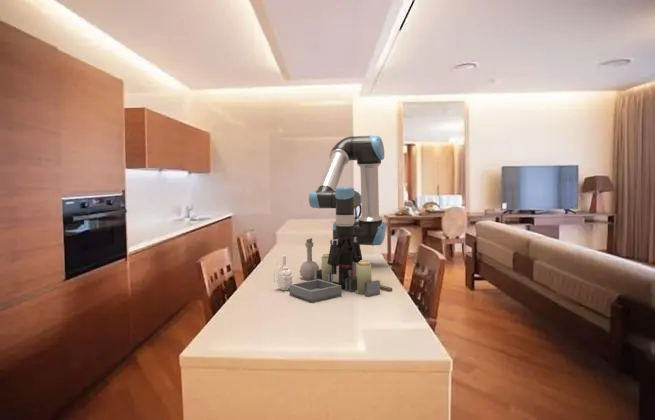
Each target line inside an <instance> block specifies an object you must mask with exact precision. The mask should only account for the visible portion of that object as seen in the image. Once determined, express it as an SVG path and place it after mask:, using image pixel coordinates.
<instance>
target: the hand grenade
mask: <svg viewBox="0 0 655 420" xmlns="http://www.w3.org/2000/svg"><path fill="white" fill-rule="evenodd" d="M286 256H287V255H286V254H283V256H282V259H280V260H277V261H276V263H278V262H282V264H281V265H280V266H279V265H277V267H276V268H274V271H273V272H274V273H273V274H274V275H273V283H275V278H276V279H277V280H276V284H277V287H278V288H279V289H280V290H281V291H288V290H290V285H291V284H293V274H292V270H290V269H289V266H288V265H287V257H286ZM278 268H280V269H279V270H278V271H277V273H276V269H278ZM276 274H277V275H276Z"/></svg>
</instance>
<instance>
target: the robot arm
mask: <svg viewBox="0 0 655 420" xmlns="http://www.w3.org/2000/svg"><path fill="white" fill-rule="evenodd" d="M384 159H385V146H384V142H383V139H382V138H381V137H380V136H379V135H358V136H357V135H356V136H353V135H352V136H348V137H347V136H346V137H344V138H343V139H341V140H340V141H338V142H337V143H336V144H335V145H334V146H333V147H332V149H331V151H330V153H329V161H328V164H327V166H326V168H325V171H324V174H323V176H322V179H321V181H320V182H319V185H318V188H317V190H311V191H310V192H309V194H308V205H309V206H310V207H311V208H313V209H335V221H334V222H333V224H332V239H330V241H329V242H330V243H329V244H330V247H329V252H328V254H329V257H328V264H329V265H331V266H332V274H333V281H334V282H337V283H338V282H339V266H338V261H339V259H340V256H341V253H342V251H343V250H352V251H353V276H357V264H358V262H359V261H363V255H362V250H361V245H362V246H381V245H382V244H383V243H384V240H385V235H386V229H387V227H386V225H387V224H386V222H384V221H383V218H382V216H381V215H380V205H379V203H380V202H379V201H380V200H379V198H380V197H379V196H380V195H379V166H380V165H381V164H382V161H383V160H384ZM350 161H356V163H357V166H358V167H359V168H360V169H359V170H360V171H359V172H360V192H359V191H357V190H355V188H354V187H353V186H338V184H339V182H340V179H341V176H342V173H343V171H344V167H346V165H347V164H348V163H349V162H350ZM359 206H361V216H360V217H359V218H358V221H357V219H356V218H355V209H357V208H358V207H359Z"/></svg>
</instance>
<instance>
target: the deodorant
mask: <svg viewBox="0 0 655 420" xmlns="http://www.w3.org/2000/svg"><path fill="white" fill-rule="evenodd" d="M338 266H339V282H338V285H341V290H345V278H348V277H353V251H352V250H343V251H342V253H341V256H340V259H339V261H338Z"/></svg>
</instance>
